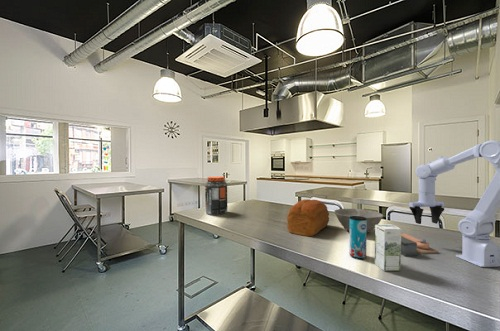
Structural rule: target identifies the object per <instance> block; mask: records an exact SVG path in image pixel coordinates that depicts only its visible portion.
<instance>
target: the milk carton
mask: <svg viewBox="0 0 500 331" xmlns="http://www.w3.org/2000/svg"><path fill="white" fill-rule="evenodd" d="M401 234H402V229H401V228H400V227H398V226H396V225H394V224H391V223H390V224H389V223H388V224H386V223H383V224H382V223H379V224H378V225H375V229H374V265H375V264H376V265H375V266H377V267H378V266H379V267H380V268H379V267H378V268H379V269H381V271H383V270H384V272H401V260H402V259H401V258H402V257H401V256H402V255H401Z"/></svg>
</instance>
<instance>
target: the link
mask: <svg viewBox="0 0 500 331" xmlns="http://www.w3.org/2000/svg"><path fill="white" fill-rule="evenodd" d="M401 237H405V238H407V239H409V240H411V241H414V242H416V243H417V247H418V248H421V249H429V247H430V243H429V242H427V240H426V239H424V238H421V239H419V238H416V237H414V236H412V235H409V234H407V233H401Z"/></svg>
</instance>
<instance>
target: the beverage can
mask: <svg viewBox="0 0 500 331" xmlns="http://www.w3.org/2000/svg"><path fill="white" fill-rule="evenodd" d="M367 235H368V232H367V218H365V217H361V216H350V231H349V256H350V257H351V258H353V259H356V258H358V260H363V259H366V258H367Z"/></svg>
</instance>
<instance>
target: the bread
mask: <svg viewBox="0 0 500 331" xmlns="http://www.w3.org/2000/svg"><path fill="white" fill-rule="evenodd" d="M329 216H330V213H329V210H328V207H327V205H326V204H325V203H324V202H322V201H320V200H318V199H302V200H299V201H297V202H296V203H295V204H293V205H292V206H291V208H290V209H289V210H288V214H287V215H286V223H287V224H286V228H287V230H288V232H289V233H290V234H293V235H294V234H295V235H299V236H303V237H304V236H305V237H313V236H315V235H317V234H318V233H319V232H320V231H321V230H323V229H325V228H326V227H327V226H328V224H329V222H330V217H329Z"/></svg>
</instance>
